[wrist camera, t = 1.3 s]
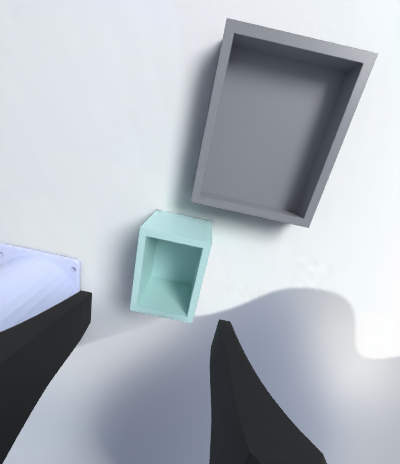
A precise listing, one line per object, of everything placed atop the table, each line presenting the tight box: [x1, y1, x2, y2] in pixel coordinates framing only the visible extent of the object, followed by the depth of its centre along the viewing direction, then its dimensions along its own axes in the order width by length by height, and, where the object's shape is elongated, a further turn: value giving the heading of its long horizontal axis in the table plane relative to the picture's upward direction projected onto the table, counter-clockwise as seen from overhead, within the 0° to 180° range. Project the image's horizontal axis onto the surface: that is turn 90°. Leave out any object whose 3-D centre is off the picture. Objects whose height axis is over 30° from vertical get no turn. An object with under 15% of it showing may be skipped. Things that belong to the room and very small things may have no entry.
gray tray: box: [191, 18, 378, 228], centre depth 17 cm, size 9×11×2 cm
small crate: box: [130, 210, 212, 323], centre depth 19 cm, size 5×7×5 cm
